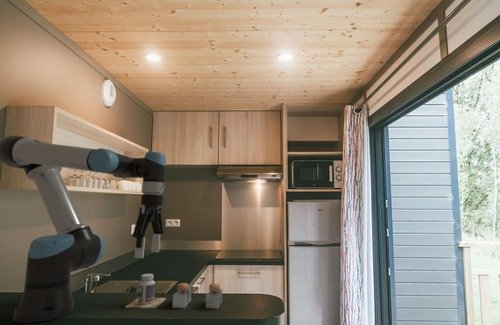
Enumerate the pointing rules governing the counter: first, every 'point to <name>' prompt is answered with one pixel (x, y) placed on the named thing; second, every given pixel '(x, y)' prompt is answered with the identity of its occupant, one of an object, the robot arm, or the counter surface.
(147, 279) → the pill bottle
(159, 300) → the coaster
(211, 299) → the set of grey blocks
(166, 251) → the counter surface
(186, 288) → the plunger
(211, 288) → the plunger
